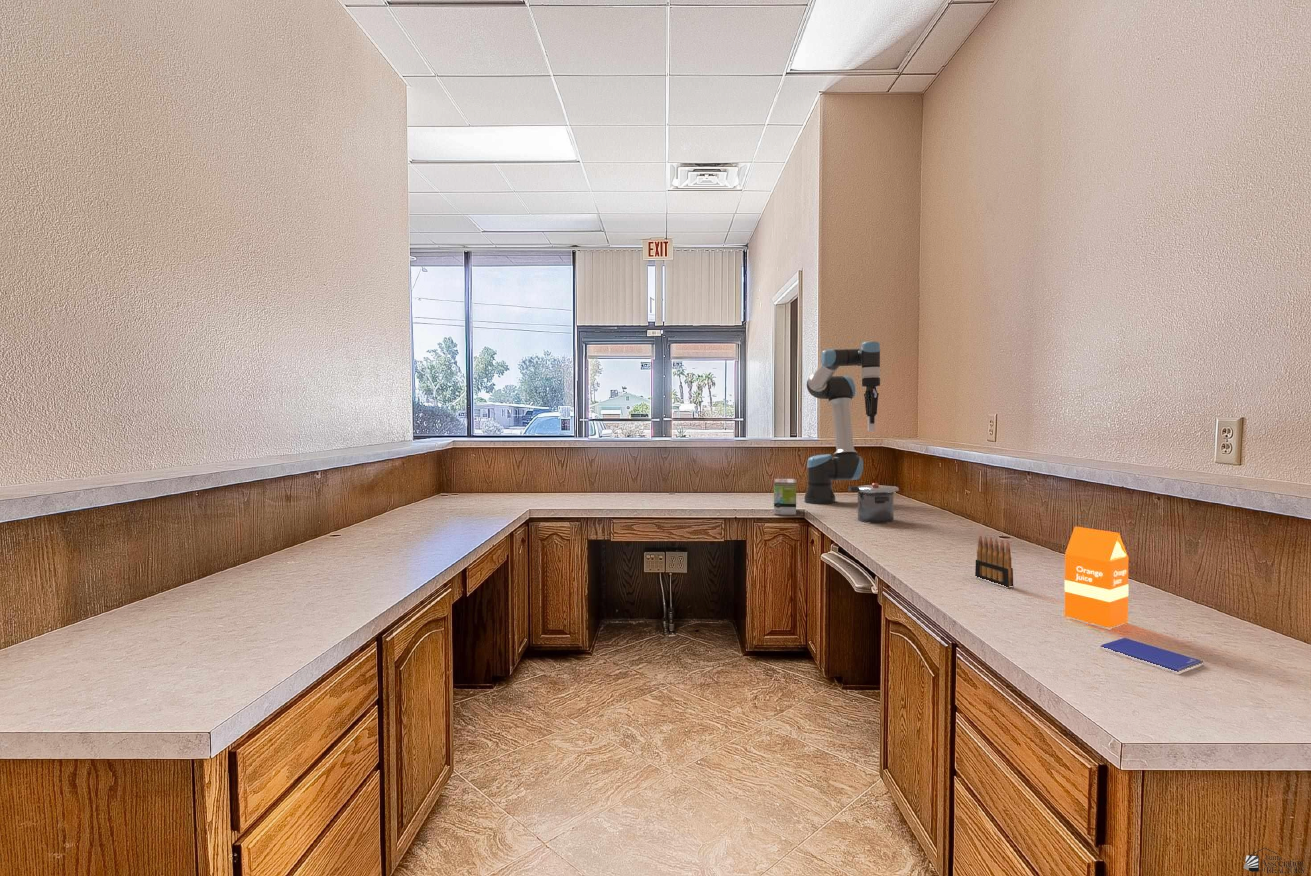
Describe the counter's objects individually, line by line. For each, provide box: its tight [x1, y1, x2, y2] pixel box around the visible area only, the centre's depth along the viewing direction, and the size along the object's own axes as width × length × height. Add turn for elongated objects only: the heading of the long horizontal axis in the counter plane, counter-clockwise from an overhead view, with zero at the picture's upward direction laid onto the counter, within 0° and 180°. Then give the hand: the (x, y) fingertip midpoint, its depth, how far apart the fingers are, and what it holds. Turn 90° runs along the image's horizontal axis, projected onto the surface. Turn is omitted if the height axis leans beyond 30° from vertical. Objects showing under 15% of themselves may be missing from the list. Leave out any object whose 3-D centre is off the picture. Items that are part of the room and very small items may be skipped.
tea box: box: [773, 478, 797, 516], centre depth 274 cm, size 15×10×15 cm, turn 168°
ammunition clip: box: [974, 534, 1014, 587], centre depth 159 cm, size 11×2×12 cm, turn 17°
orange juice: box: [1064, 526, 1130, 628], centre depth 130 cm, size 8×9×20 cm
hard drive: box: [1100, 637, 1204, 672], centre depth 111 cm, size 2×8×12 cm
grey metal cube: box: [857, 492, 895, 524], centre depth 249 cm, size 18×14×12 cm
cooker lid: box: [848, 482, 900, 494], centre depth 249 cm, size 15×19×3 cm
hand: (871, 431), depth 263 cm, fingers closed
